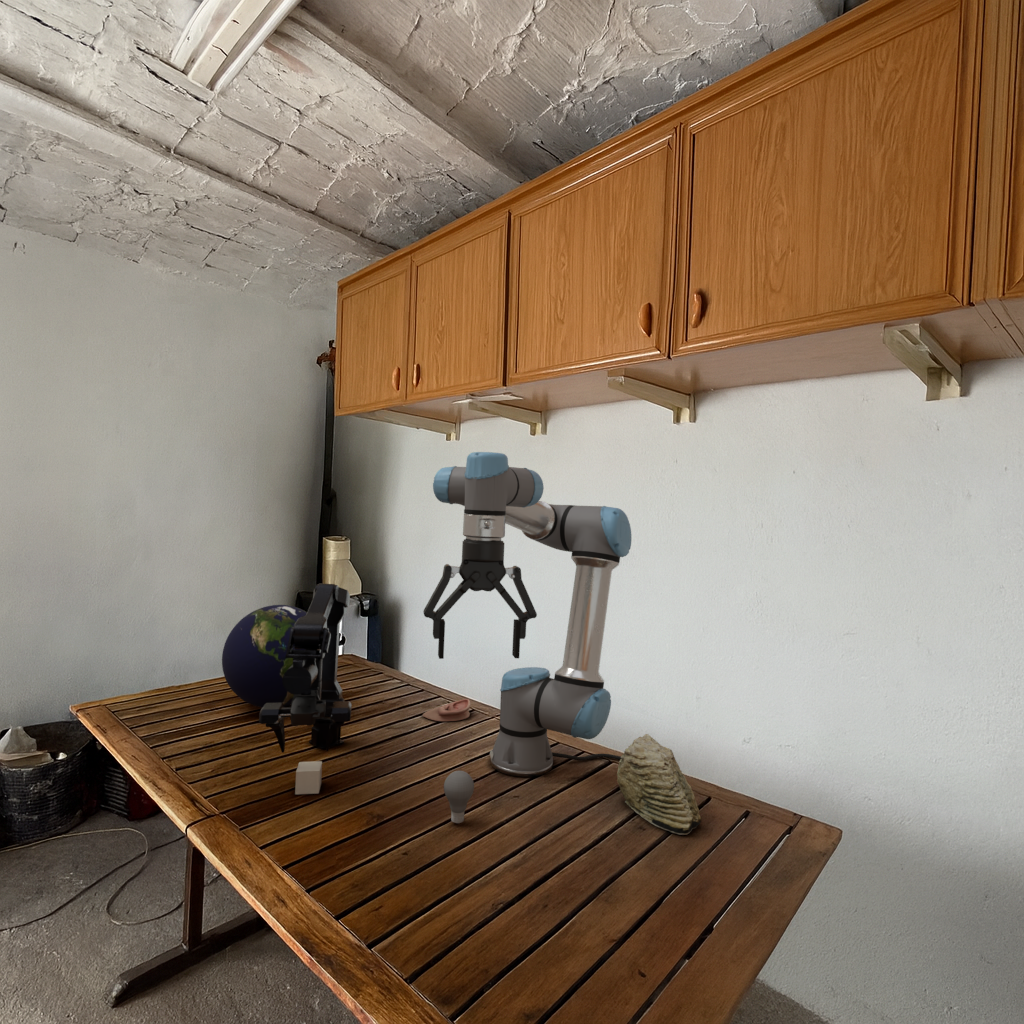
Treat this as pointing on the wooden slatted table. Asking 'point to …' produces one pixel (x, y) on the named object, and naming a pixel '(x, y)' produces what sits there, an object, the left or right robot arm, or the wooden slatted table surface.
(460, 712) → the anatomical model
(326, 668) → the left robot arm
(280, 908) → the wooden slatted table surface
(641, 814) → the fossil
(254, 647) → the globe
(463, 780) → the light bulb
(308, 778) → the block
